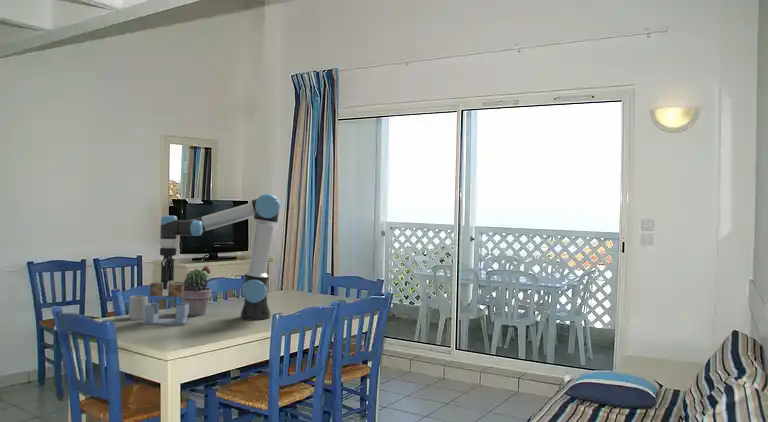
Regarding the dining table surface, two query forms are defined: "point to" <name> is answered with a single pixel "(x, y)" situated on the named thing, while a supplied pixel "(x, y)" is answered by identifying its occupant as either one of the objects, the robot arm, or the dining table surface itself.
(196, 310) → the potted plant
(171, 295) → the tapered block
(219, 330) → the dining table surface
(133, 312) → the mug
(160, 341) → the dining table surface
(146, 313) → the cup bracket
